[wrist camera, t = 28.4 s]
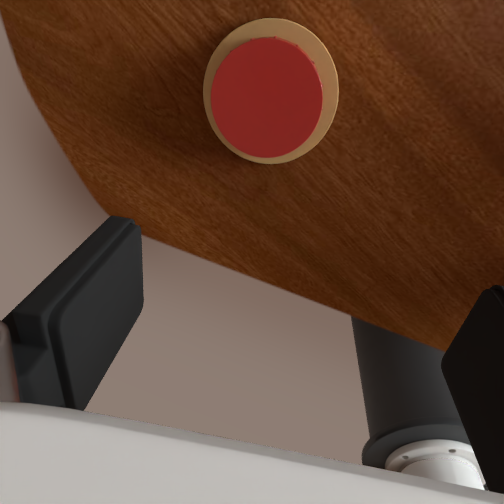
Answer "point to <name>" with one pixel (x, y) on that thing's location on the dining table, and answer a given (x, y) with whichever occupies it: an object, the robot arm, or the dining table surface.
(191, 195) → the dining table surface
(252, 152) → the lid
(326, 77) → the coaster
